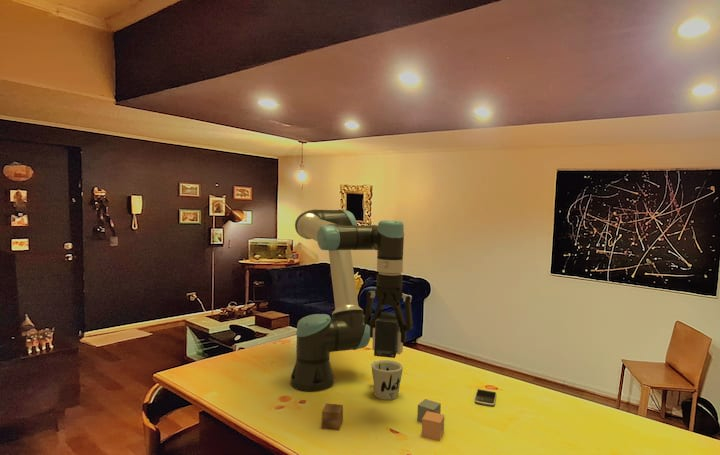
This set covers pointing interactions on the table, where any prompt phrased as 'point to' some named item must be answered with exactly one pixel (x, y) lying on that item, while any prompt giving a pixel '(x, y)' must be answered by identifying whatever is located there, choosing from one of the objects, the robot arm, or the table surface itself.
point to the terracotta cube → (433, 425)
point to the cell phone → (485, 397)
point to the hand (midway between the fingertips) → (387, 350)
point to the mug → (386, 378)
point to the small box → (386, 335)
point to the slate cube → (427, 408)
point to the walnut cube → (332, 416)
